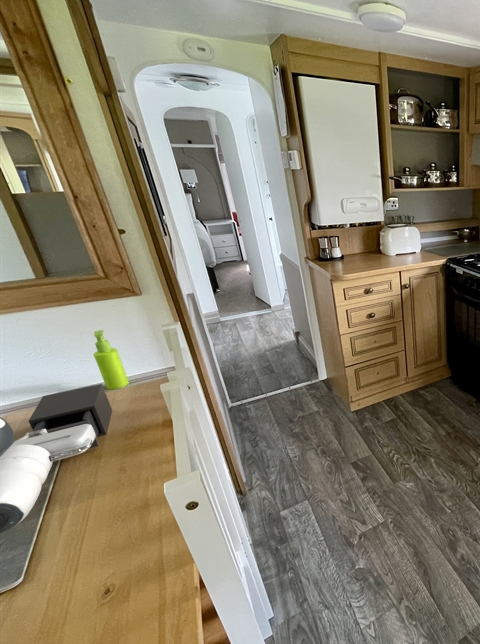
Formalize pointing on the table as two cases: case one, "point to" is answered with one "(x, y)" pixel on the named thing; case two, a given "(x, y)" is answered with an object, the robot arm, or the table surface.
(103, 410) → the cabinet
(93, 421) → the drawer
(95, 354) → the soap dispenser
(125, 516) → the table surface
